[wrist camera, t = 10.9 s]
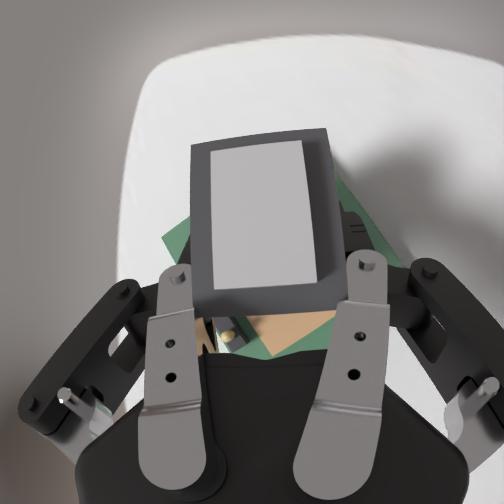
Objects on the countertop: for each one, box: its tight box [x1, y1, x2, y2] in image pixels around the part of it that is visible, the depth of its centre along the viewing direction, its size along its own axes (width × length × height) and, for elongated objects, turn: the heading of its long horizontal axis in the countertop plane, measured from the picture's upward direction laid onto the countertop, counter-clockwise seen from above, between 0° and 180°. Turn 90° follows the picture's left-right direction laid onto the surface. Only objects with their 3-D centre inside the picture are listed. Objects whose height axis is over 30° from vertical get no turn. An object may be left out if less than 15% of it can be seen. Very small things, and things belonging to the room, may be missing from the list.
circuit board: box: [161, 172, 404, 360], centre depth 17 cm, size 12×12×3 cm
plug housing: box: [190, 128, 349, 317], centre depth 12 cm, size 4×5×10 cm
